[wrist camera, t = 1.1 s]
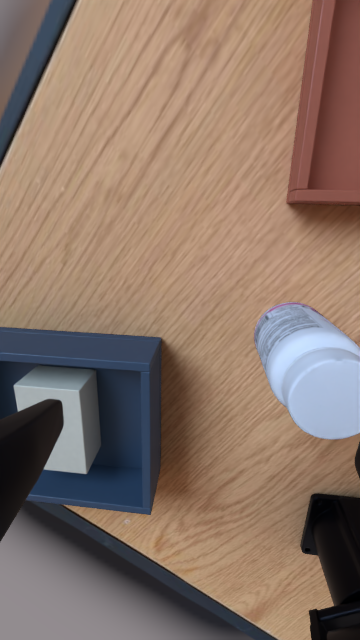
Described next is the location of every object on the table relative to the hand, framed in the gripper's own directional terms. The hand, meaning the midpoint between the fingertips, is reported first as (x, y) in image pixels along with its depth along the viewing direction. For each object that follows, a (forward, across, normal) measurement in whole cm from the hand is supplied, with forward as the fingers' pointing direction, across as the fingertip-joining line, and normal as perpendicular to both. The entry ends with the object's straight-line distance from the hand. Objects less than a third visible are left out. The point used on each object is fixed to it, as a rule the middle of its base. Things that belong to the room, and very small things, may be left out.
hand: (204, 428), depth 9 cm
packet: (+12, +10, +8) cm, 18 cm away
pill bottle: (+13, -6, +1) cm, 14 cm away
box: (+12, +10, +8) cm, 18 cm away
